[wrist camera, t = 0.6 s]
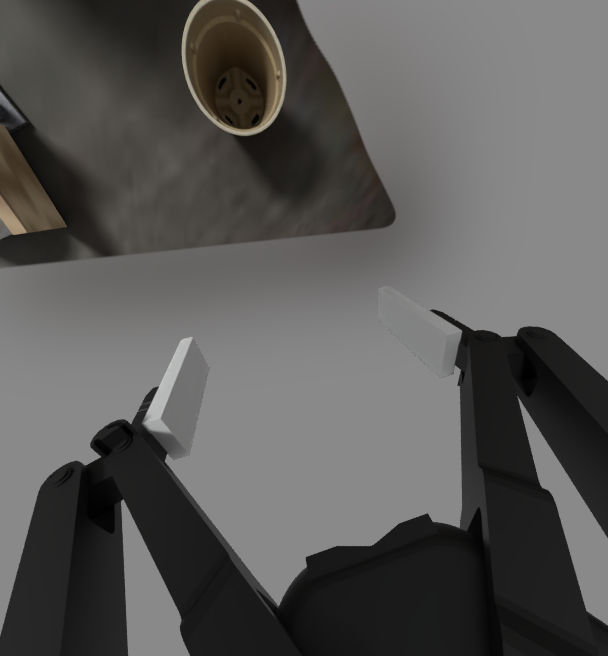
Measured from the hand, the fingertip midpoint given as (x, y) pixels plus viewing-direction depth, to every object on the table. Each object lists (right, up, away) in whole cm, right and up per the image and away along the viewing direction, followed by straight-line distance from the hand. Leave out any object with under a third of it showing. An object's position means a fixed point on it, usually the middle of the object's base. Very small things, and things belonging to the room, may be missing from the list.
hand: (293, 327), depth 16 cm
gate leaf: (-32, +18, +12) cm, 39 cm away
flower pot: (-7, +28, +13) cm, 32 cm away
